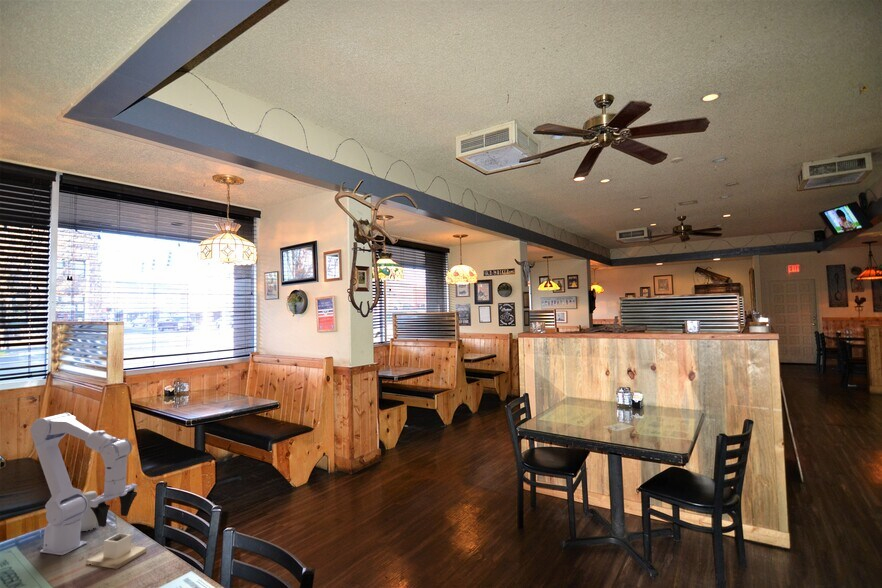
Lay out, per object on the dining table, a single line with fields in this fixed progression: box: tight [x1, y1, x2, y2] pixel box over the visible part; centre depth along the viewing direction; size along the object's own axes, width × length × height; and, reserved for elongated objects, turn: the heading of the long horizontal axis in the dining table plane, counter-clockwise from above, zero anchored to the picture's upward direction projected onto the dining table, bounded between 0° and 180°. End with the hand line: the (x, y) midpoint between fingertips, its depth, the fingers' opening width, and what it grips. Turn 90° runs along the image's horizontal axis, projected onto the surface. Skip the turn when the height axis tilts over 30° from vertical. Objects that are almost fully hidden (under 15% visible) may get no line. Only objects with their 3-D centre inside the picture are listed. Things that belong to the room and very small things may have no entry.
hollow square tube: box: [102, 532, 132, 559], centre depth 138 cm, size 5×5×5 cm
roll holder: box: [85, 536, 148, 570], centre depth 138 cm, size 12×10×6 cm
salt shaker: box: [81, 490, 98, 532], centre depth 157 cm, size 6×6×13 cm
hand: (113, 520), depth 142 cm, fingers open, 7 cm apart
